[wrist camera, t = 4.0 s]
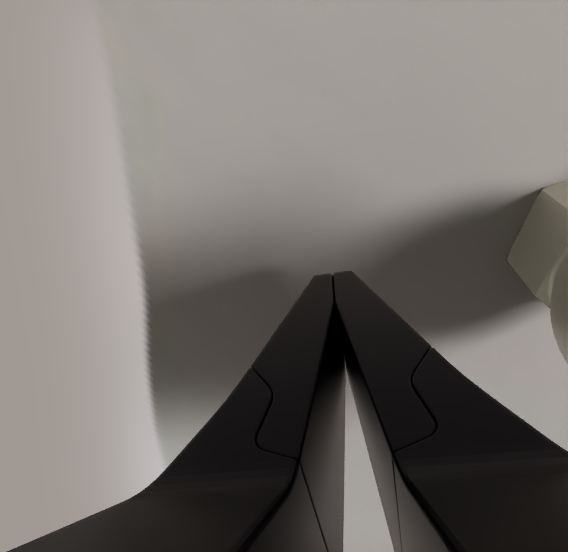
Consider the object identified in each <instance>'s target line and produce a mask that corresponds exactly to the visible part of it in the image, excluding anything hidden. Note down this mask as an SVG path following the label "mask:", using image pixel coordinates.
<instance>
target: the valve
mask: <svg viewBox="0 0 568 552" xmlns="http://www.w3.org/2000/svg"><path fill="white" fill-rule="evenodd" d="M507 261H508V263H509V264H510V265H511V267H512V268H513V269H514V270H515V272H516V273H517V274H518V275H519V277H520V278H521V279H522V280H523V282H524V283H525V284H526V285H527V287H528V288H529V289H530V291H531V292H532V293H533V294H534V296H535V297H537V298H538V299H539V300H540V301H542V302H543V303H544V304H545V305H547V306H548V307H549V308H550V316H551V323H552V328H553V332H554V336H555V339H556V341H557V344H558V347H559V349H560V351H561V353H562V355H563V357H564V359H565V360H566V362H567V363H568V180H565V181H562V182H559V183H556V184H553V185H550V186H548V187H546V188H544V189H542V190H541V191H540V193H539V194H538V196H537V197H536V199H535V202H534V204H533V206H532V208H531V210H530V212H529V214H528V216H527V218H526V220H525V222H524V224H523V226H522V228H521V230H520V232H519V234H518V236H517V238H516V240H515V242H514V244H513V246H512V248H511V250H510V252H509V255H508V258H507Z"/></svg>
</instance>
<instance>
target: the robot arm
mask: <svg viewBox="0 0 568 552" xmlns="http://www.w3.org/2000/svg"><path fill="white" fill-rule="evenodd" d="M345 364H346V369H347V373H348V378H349V382H350V385H351V389H352V393H353V397H354V400H355V404H356V408H357V412H358V415H359V419H360V423H361V427H362V431H363V434H364V438H365V442H366V446H367V449H368V453H369V457H370V461H371V464H372V468H373V472H374V476H375V480H376V483H377V487H378V491H379V495H380V498H381V502H382V506H383V510H384V513H385V517H386V521H387V525H388V529H389V532H390V536H391V540H392V544H393V547H394V551H395V552H568V451H566V450H564V449H563V448H561V447H560V446H558V445H557V444H556V443H554V442H553V441H551V440H550V439H548V438H547V437H546V436H544V435H543V434H542V433H540V432H539V431H537V430H536V429H535V428H533V427H532V426H531V425H529V424H528V423H527V422H525V421H524V420H523V419H521V418H520V417H518V416H517V415H516V414H514V413H513V412H512V411H510V410H509V409H508V408H506V407H505V406H503V405H502V404H501V403H499V402H498V401H497V400H495V399H494V398H493V397H491V396H490V395H489V394H487V393H486V392H485V391H483V390H482V389H481V388H479V387H478V386H477V385H476V384H474V383H473V382H472V381H470V380H469V379H468V378H467V377H465V376H464V375H463V374H462V373H460V372H459V371H458V370H457V369H456V368H455V367H454V366H453V365H451V364H450V363H449V362H448V361H447V360H446V359H445V358H444V357H442V356H441V355H440V354H439V353H438V352H437V351H436V350H435V349H434V348H432V347H431V345H430V344H429V343H427V342H426V341H425V340H424V339H423V338H422V337H421V336H420V335H419V334H418V333H417V332H416V331H415V330H414V329H413V328H411V327H410V326H409V325H408V324H407V323H406V322H405V321H404V320H403V319H402V318H401V317H400V316H399V315H398V314H397V313H396V312H394V311H393V310H392V309H391V308H390V307H389V306H388V305H387V304H386V303H385V302H384V301H383V300H382V299H381V298H380V297H378V296H377V295H376V294H375V293H374V292H373V291H372V290H371V289H370V288H369V287H368V286H367V285H366V284H365V283H364V282H362V281H361V280H360V279H359V278H358V277H357V276H356V275H355V274H354V273H353V272H352V271H344V272H338V273H335V274H334V275H332V274H324V275H317V276H314V277H313V279H312V280H311V281H310V283H309V284H308V286H307V287H306V289H305V290H304V291H303V293H302V294H301V296H300V297H299V299H298V300H297V301H296V303H295V304H294V306H293V307H292V309H291V310H290V311H289V313H288V314H287V316H286V317H285V319H284V320H283V321H282V323H281V324H280V326H279V327H278V329H277V330H276V331H275V333H274V334H273V336H272V337H271V339H270V340H269V341H268V343H267V344H266V346H265V347H264V348H263V350H262V351H261V353H260V354H259V356H258V357H257V358H256V360H255V361H254V363H253V364H252V366H251V368H250V369H249V370H248V371H247V373H246V374H245V375H244V377H243V378H242V380H241V381H240V382H239V384H238V385H237V386H236V388H235V389H234V390H233V392H232V393H231V394H230V396H229V397H228V398H227V400H226V401H225V402H224V403H223V404H222V406H221V407H220V408H219V409H218V410H217V412H216V413H215V414H214V415H213V416H212V417H211V419H210V420H209V421H208V422H207V423H206V424H205V426H204V427H203V428H202V429H201V430H200V431H199V432H198V433H197V435H196V436H195V437H194V438H193V439H192V440H191V441H190V442H189V444H188V445H187V446H186V447H185V448H184V449H183V450H182V452H181V453H180V454H179V455H178V456H177V457H176V458H175V459H174V461H173V462H172V463H171V464H170V465H169V466H168V467H167V468H166V470H165V471H164V472H163V473H162V474H161V475H160V476H159V477H158V478H157V479H156V480H155V481H154V482H152V483H151V484H150V485H149V486H148V487H147V488H145V489H144V490H143V491H141V492H140V493H138V494H137V495H135V496H133V497H132V498H130V499H128V500H126V501H124V502H121V503H119V504H117V505H114V506H112V507H110V508H107V509H105V510H103V511H100V512H98V513H96V514H94V515H91V516H89V517H87V518H84V519H82V520H80V521H77V522H75V523H72V524H70V525H68V526H65V527H63V528H61V529H59V530H56V531H54V532H52V533H49V534H47V535H45V536H42V537H40V538H38V539H35V540H33V541H31V542H28V543H26V544H24V545H21V546H19V547H17V548H14V549H12V550H10V551H7V552H343V522H344V452H345V383H346V374H345Z"/></svg>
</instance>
